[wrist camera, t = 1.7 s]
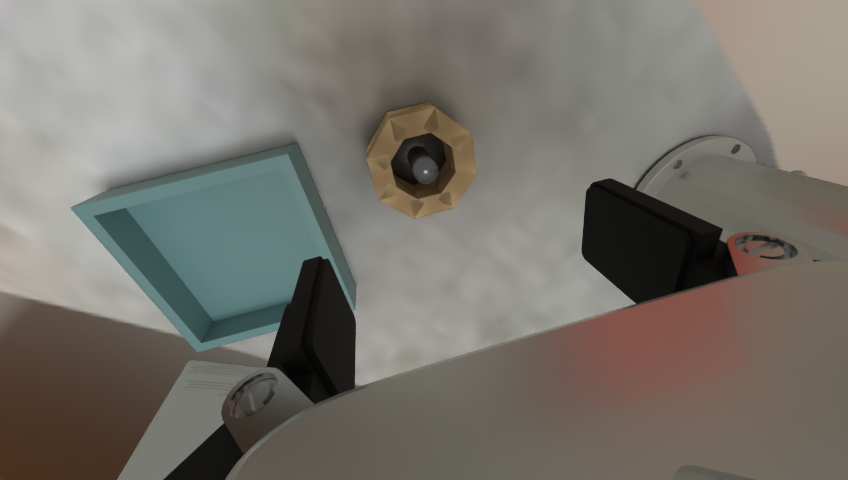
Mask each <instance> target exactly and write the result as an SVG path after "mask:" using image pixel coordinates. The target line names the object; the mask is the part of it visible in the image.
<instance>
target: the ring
mask: <svg viewBox="0 0 848 480" xmlns="http://www.w3.org/2000/svg"><path fill="white" fill-rule="evenodd" d="M427 133H432V134H433V135H435V136H436V137H438V138H439V139H441V140H442V141H443V145H444V151H445V157H446V162H445V163H444V165H443V166H442V168H441V169H440V171H439V173H438V176H437V178H436V179H435V181H433V182H432V183H429V184H422V183H419V184H415V185H411V184H409V183H408V182H406V181H404V180H402V179H401V178H399V177H397V176H395V175H394V174H393V171H392V168H391V164H390V162H391V160H392V159H393V157H394V155H395V154H396V152H397V150H398V149H399V147H400V145H401V143H402V142H403V140H404V139H407V138H411V137H415V136H419V135H423V134H427ZM367 162H368V166H369V169H370V172H371V176H372V179H373V182H374V185H375V189H376V192H377V195H378V199H379V201H381V202H383V203H385V204H387V205H389V206H391V207H393V208H395V209H397V210H399V211H400V212H402V213H404V214H406V215H408V216H410V217H412V218H414V219H415V218H419V217H423V216H427V215H431V214H434V213H438V212H442V211H446V210H450V209H453V208H454V206H455V205H456V203H457V202H458V201H459V199H460V198H461V196H462V195H463V194H464V192H465V191H466V189H467V188H468V187H469V185H470V184H471V182H472V181H473V180H474V178H475V177H476V166H475V158H474V150H473V141H472V133H471V132H469V131H468V130H467V129H465V128H464V127H462V126H461V125H460V124H458V123H457V122H455V121H454V120H453V119H451V118H450V117H448V116H447V115H446V114H444V113H443V112H441V111H440V110H439V109H437V108H436V107H434V106H432V105H431V104H429V103H422V104H418V105H414V106H410V107H406V108H402V109H398V110H394V111H390V112H386V114H385V116H384V118H383V120H382V122H381V123H380V125H379V127H378V129H377V131H376V132H375V134H374V136H373V138H372V140H371V141H370V143H369V145H368V147H367Z"/></svg>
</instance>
